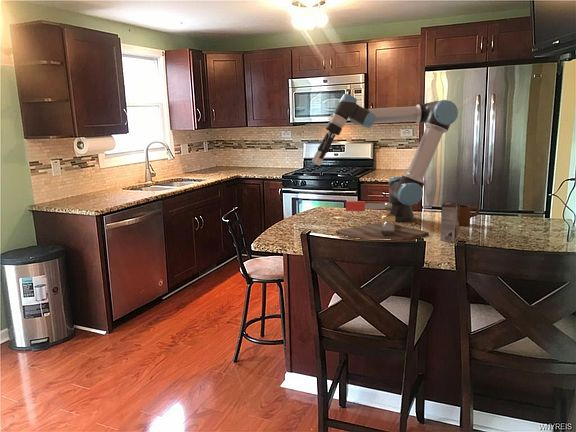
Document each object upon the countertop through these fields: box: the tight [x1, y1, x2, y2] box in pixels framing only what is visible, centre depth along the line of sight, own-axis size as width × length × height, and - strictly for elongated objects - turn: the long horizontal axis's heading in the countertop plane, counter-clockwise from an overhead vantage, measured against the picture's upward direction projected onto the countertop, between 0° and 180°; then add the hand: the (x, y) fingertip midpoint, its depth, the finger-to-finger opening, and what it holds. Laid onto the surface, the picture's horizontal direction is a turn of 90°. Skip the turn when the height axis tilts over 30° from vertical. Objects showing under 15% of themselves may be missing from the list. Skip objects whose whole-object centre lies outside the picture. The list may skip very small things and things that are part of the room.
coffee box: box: [439, 201, 461, 243], centre depth 206 cm, size 9×6×16 cm
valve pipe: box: [381, 209, 396, 236], centre depth 220 cm, size 23×6×10 cm, turn 167°
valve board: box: [335, 221, 430, 241], centre depth 219 cm, size 31×30×2 cm
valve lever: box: [345, 200, 392, 212], centre depth 221 cm, size 22×3×4 cm, turn 77°
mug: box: [459, 204, 480, 227], centre depth 232 cm, size 12×8×9 cm, turn 82°
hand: (315, 163), depth 228 cm, fingers open, 13 cm apart
